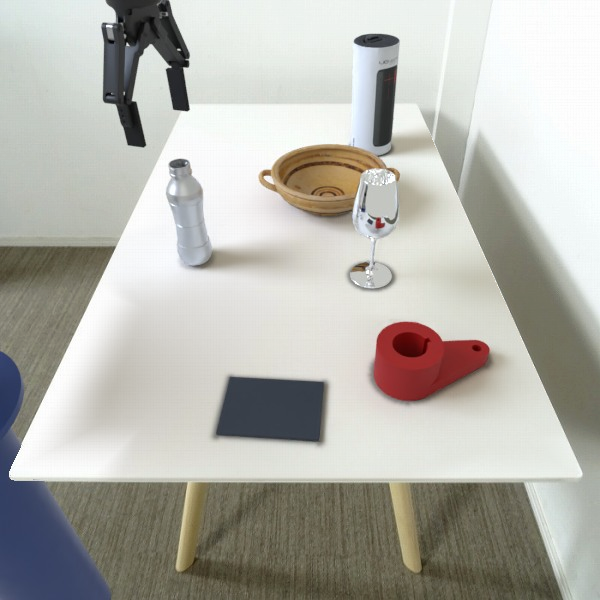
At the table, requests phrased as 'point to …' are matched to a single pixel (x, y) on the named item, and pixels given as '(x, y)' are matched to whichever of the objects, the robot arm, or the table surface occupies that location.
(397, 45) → the speaker
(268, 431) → the mat
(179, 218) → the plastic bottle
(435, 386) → the lever
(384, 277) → the wineglass
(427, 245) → the table surface
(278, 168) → the ceramic bowl
